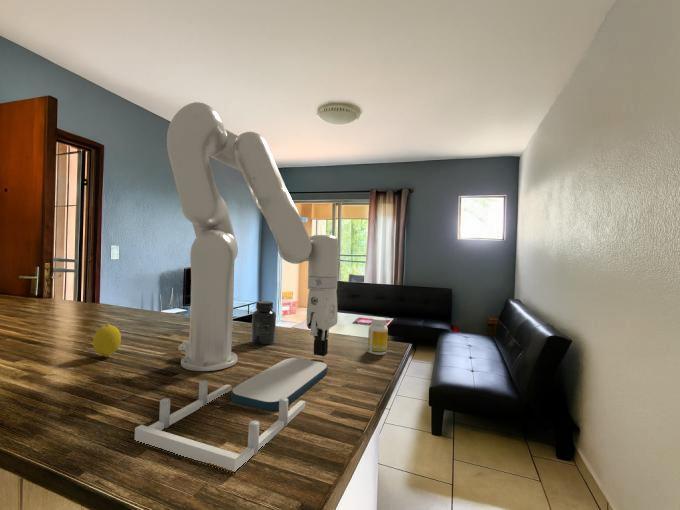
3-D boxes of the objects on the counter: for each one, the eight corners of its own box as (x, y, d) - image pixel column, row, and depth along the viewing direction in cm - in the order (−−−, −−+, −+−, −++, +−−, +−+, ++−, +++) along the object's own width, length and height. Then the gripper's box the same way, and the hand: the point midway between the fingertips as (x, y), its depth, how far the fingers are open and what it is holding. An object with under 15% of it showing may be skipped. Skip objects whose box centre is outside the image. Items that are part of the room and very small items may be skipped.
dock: (133, 440, 47) (134, 412, 47) (226, 389, 65) (226, 368, 65) (235, 474, 41) (237, 441, 41) (306, 407, 59) (307, 384, 59)
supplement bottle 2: (363, 351, 94) (365, 317, 94) (377, 348, 98) (378, 315, 98) (377, 356, 90) (378, 321, 90) (390, 353, 94) (392, 319, 94)
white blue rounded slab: (277, 417, 56) (278, 405, 56) (222, 403, 60) (223, 392, 60) (332, 372, 78) (332, 363, 78) (289, 364, 82) (289, 356, 82)
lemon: (87, 358, 79) (88, 324, 79) (110, 352, 84) (111, 320, 84) (102, 362, 77) (103, 327, 77) (125, 355, 82) (126, 323, 82)
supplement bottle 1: (256, 338, 103) (258, 299, 103) (277, 340, 102) (279, 301, 102) (247, 344, 96) (249, 303, 96) (270, 346, 95) (271, 304, 95)
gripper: (324, 286, 77) (322, 365, 77) (346, 282, 91) (344, 348, 91) (295, 284, 80) (293, 361, 80) (320, 280, 94) (318, 345, 94)
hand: (320, 354), depth 86 cm, fingers closed
